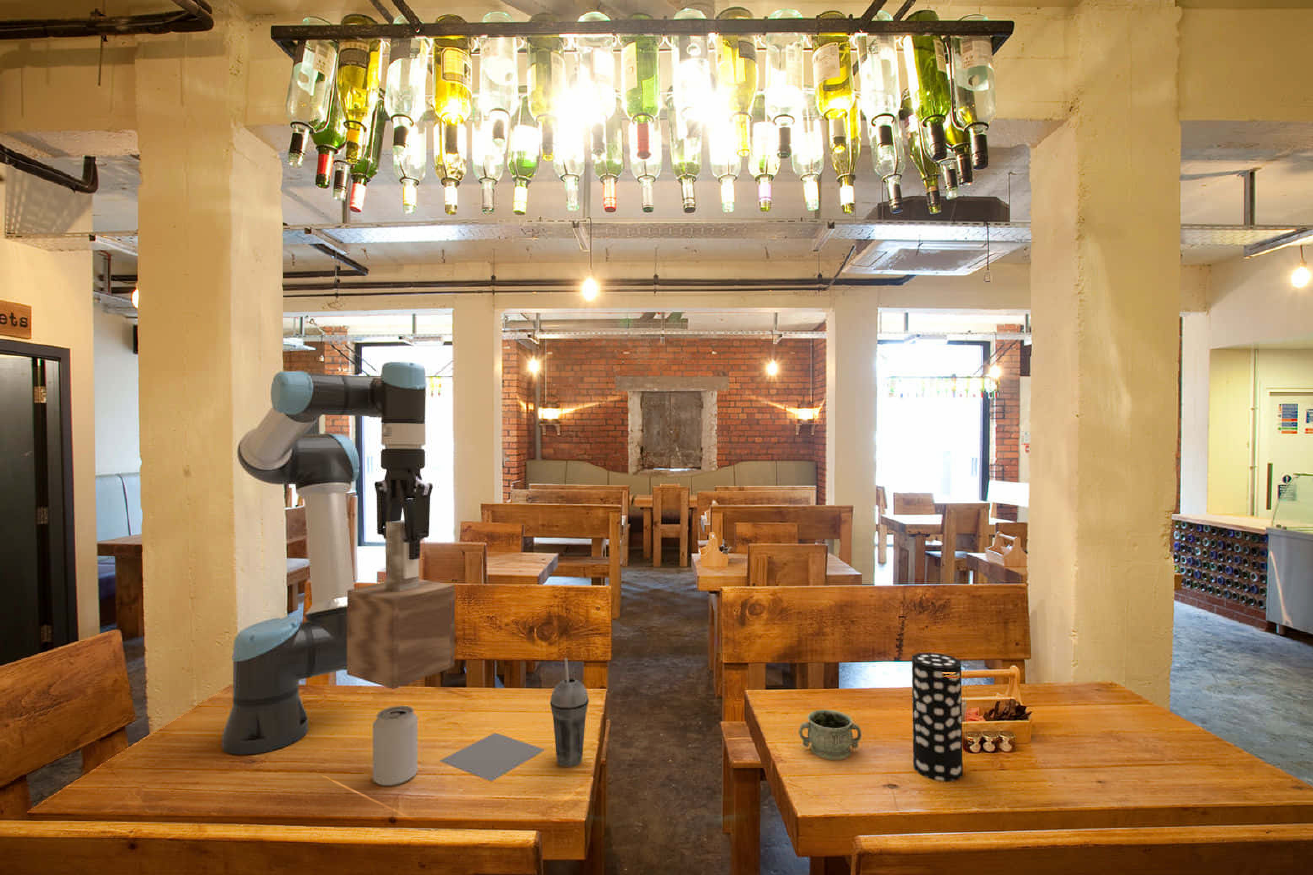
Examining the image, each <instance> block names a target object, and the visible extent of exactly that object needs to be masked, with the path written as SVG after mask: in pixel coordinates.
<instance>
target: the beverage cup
mask: <svg viewBox="0 0 1313 875" xmlns="http://www.w3.org/2000/svg"><path fill="white" fill-rule="evenodd" d="M564 670H565V679H562V680H561V681H560V682H558V683H557V684H556V685H555V687H554V689H553V690H552V693H551V698H550V702H549V704H550V710H551V714H552V719H553V731H554V743H555V745H554V746H555V755H556V760H557V764H558V765H559V766H560V767H564V768H572V767H576V766H578V765H580V764H581V763H582V761H583V754H584V741H585V730H586V728H585V727H586V717H587V716H586V715H587V712H588V711H587V710H588V705H589V701H590V700H589V694H588V691H587V689H586V687H585V686H584V684H583V683H582V682H581V681H579V680H577V679H574V678H570V677H569V676H570V675H569V663H568V658H567V657H565V658H564Z"/></svg>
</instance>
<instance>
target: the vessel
mask: <svg viewBox="0 0 1313 875" xmlns="http://www.w3.org/2000/svg"><path fill="white" fill-rule="evenodd" d="M807 720H808V721H806V722H802V723H801V725H800V727H799V729H798V735H799V738H800V739H801V740H802V745H803V746H804V747H805V748H809V745H810V744H811V745H810V750H811V752H812V753H813V754H814V755H816V756H817V757H820V758H822V759H825V760H831V761H832V760H833V761H837V760H838V761H840V760H845V759H847V758H849V756H851V750H850V747H851V748H853V749H857V748H858V747H859V742H860V740H861V739H862V731H861V727H860V726H859V724H857V723H853V719H852V717H851V716H849V714H847V713H844V712H841V711H838V710H833V709H818V710H814V711H811V712H810V713H809V714H808V715H807ZM804 729H807V736H806V737H805V736H804V735H803V730H804ZM852 730H854V731H855V730H856V731H857V736H856V737H855V738H854V735H853V731H852Z"/></svg>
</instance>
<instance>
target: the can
mask: <svg viewBox="0 0 1313 875" xmlns="http://www.w3.org/2000/svg"><path fill="white" fill-rule="evenodd" d="M414 712H415V709H414V708H413V707H412V706H407V705H398V706H397V705H396V706H391V707H388V708H385V709H384V708H383V709H382V710H380V711H379V712H378V713H377V714H376V719H375V721H373V723H372V780H373V782H374V783H376V784H378V785H380V786H383V787H385V786H386V787H390V786H391V787H393V786H398V785H402V784H404V783H406V782H408V781H410V780H411V779H412V778H414V776H416V774H417V773H418V715H416V714H415V713H414Z"/></svg>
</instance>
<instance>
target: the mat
mask: <svg viewBox="0 0 1313 875" xmlns="http://www.w3.org/2000/svg"><path fill="white" fill-rule="evenodd" d="M544 751H546V749H545V748H542V747H539V746H536V745H532V744H530V743H526V742H524V741H521V740H518V739H514V738H513V737H512V738H511V737H509V736H506V735H503V734H500V733H497V732H494V733H492V734H490V735H488V736H486V737H484V738H481V739H480V740H478V741H476V742H474V743H471V744H470V745H468V746H466V747H464V748H462V749H460V750H458V751H456V752H454V753H452V754H450V755H448V756H446V757H444V758H442V759H440V760H439V762H441V763H443V764H446V765H449V766H451V767H453V768H456V769H459V770H461V771H464V772H466V773H469V774H471V775H474V776H476V777H479V778H482V779H484V780H487V781H489V782H493V781H495V780H496V779H498V778H500V777H502V776H503V775H505V774H507V773H508V772H510V771H512V770H513V769H515V768H517V767H518V766H520V765H522V764H523V763H525V762H528V761H529V760H531V759H532V758H534V757H536V756H537V755H540V754H541V753H542V752H544Z"/></svg>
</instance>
